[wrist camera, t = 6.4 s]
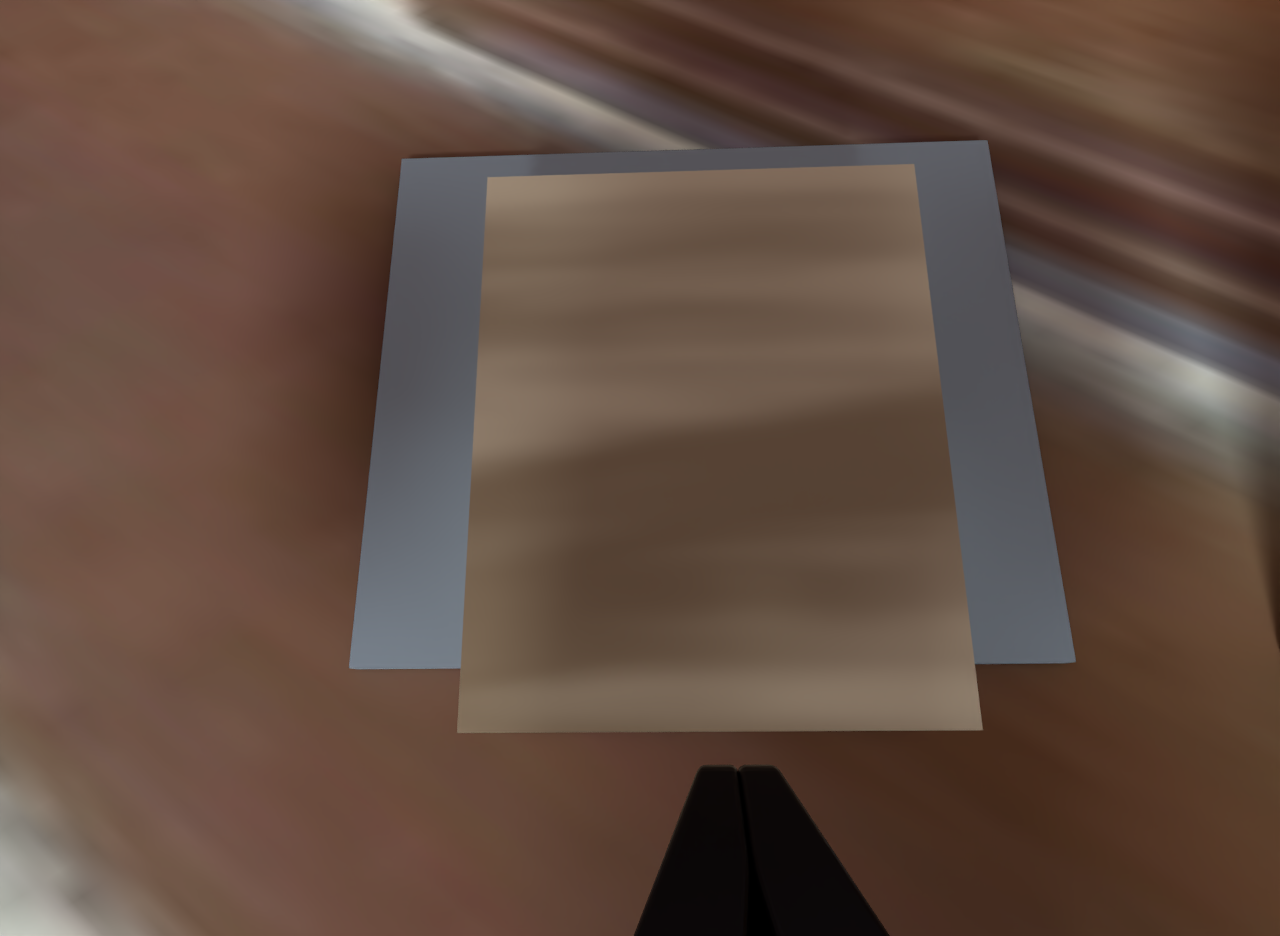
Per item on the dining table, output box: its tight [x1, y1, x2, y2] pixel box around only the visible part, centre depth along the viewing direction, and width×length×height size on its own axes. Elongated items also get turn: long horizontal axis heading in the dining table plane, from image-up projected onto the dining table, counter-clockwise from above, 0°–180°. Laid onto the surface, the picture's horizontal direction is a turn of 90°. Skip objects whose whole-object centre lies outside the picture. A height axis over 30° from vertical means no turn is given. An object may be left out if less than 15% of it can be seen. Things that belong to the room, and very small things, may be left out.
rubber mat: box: [349, 140, 1076, 669], centre depth 17 cm, size 12×14×1 cm
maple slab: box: [457, 164, 983, 733], centre depth 15 cm, size 3×8×10 cm
